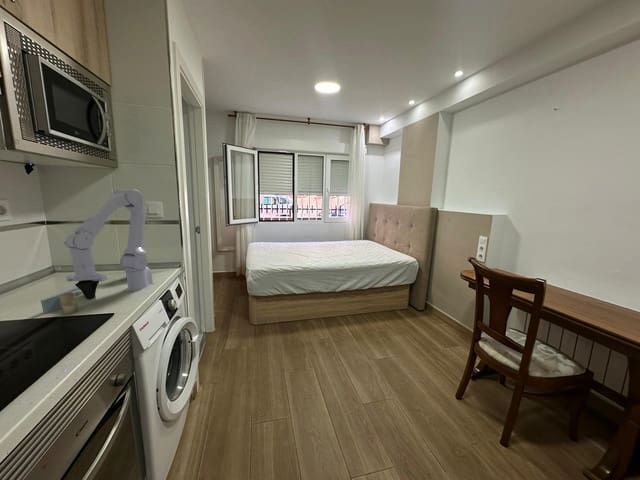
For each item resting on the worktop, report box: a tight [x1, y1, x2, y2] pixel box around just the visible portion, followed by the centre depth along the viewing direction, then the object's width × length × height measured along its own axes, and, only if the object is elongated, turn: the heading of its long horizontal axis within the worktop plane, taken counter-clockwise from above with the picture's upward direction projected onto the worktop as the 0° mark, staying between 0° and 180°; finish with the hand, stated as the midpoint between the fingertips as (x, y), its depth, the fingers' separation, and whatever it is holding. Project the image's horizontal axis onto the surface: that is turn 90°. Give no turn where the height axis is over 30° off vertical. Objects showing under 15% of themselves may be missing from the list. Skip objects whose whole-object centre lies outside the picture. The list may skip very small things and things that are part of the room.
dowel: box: [60, 293, 78, 316], centre depth 91 cm, size 3×3×7 cm
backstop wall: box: [40, 286, 80, 314], centre depth 98 cm, size 14×2×5 cm, turn 176°
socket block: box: [59, 290, 97, 309], centre depth 99 cm, size 7×7×4 cm
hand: (91, 298), depth 99 cm, fingers closed
